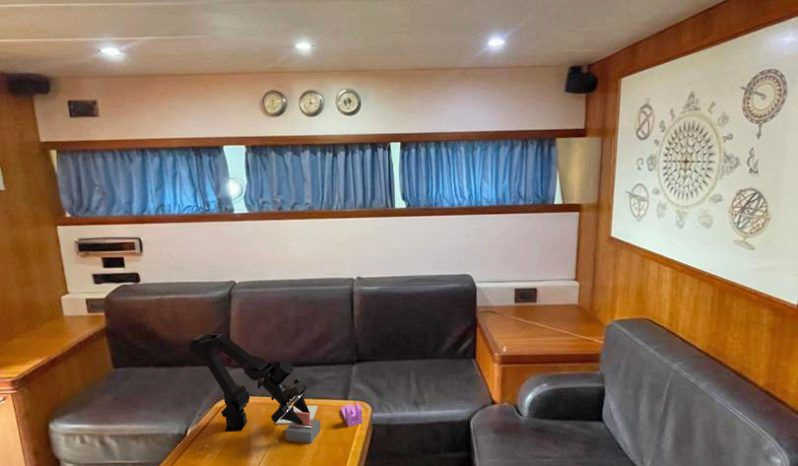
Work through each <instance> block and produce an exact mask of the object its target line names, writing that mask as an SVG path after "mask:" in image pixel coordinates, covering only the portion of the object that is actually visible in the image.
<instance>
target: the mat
mask: <svg viewBox="0 0 798 466" xmlns="http://www.w3.org/2000/svg"><path fill="white" fill-rule="evenodd" d="M292 406H293V405H290V406H289V407H290V408H291V407H292ZM318 406H319V405H307V407H308V410H309V412H310V419H312V420H314V417H315V414H316V412H317V410H318ZM293 408H294V412H295V411H296V412H302V411H300V410H299V409H297V408H296V407H294V406H293ZM281 418H282V417H281ZM281 418H280V419H281ZM280 419H279V420H278V421H277V422H276V423H275V422H274V424H275V425H290V424H291V423H292V422H291V421H287V420H283V419H282V420H280Z"/></svg>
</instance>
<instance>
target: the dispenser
mask: <svg viewBox="0 0 798 466" xmlns="http://www.w3.org/2000/svg"><path fill="white" fill-rule="evenodd" d="M310 421H311V426H303V425H295V423H294V422H292V423H291V424H288V426H287V428H286V429H285V439H286V440H287V441H291V442H292V441H293V442H300V443H305V444H306V443H307V444H312V443H313V442H314V440H315V438H317V436H318V434H319V433H320V432H321V421H320V419H313V420H312V419H310Z"/></svg>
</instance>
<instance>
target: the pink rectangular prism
mask: <svg viewBox="0 0 798 466" xmlns="http://www.w3.org/2000/svg"><path fill="white" fill-rule="evenodd" d="M295 413H296V414H297V415H298V417H299V418H300V419H301V420H302V422H303V424H302V425H303V426H311V421H310V413H305V412H296V411H295ZM295 425H300V424H297V423H295Z"/></svg>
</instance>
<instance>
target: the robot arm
mask: <svg viewBox="0 0 798 466" xmlns="http://www.w3.org/2000/svg"><path fill="white" fill-rule="evenodd" d="M189 349H190V351H191V352H192V354H193V355H194V356H195V357H196V358H197V359H199V360H202V361H203V362H204V363H205V365H206V366H207V368H208V369H209V371H210V373H211V374H212V376H213V377H214V380H216V382H217V384H218V385H219V387H220V388H221V390H222V392H223V398H224V399H223V400H224V403H225V407H224V408H223V409H222V410H221V412H220V413H221V416H222V417H223V418H225V422H226V423H225V424H226V427H225V429H224V431H225V432H241V431H243V429H244V428H245V426H246V425H247V423H248V419H247V414H246V412H245V408H246V407H247V405H248V403H249V402H250V399H251V398H250V395H249V394H250V393H249V392H248V390H247V388H246V387H245V385H240V386H239V385H238V384H236V382H235V381H234V379H233V377H232V376H231V374H230V373H229V372H228V370H227V368H226V366H225V365H224V363H223V362H222V360H221V359H220V357H219V355H218V354H217V350H220V351H221V352H222V353H224V354H225V355H226V356H228V357H229V358H230V359H232V360H233V361H234V362H235V363H237V364H238V365H239V366H240V367H241V368H242V370H243V373H244V374H245V375H246V376H247V377H248V378H249V379H250V380H251V381H255V382H256V381H257V389H258V390H259V389H261V388H264V389H265V391H266V392H267V393H268V394H269V395H270V396H271V398H270V400H272V401H274V400H275V401H276V402H277V403H278V404H279V405H278V408H277V409H276V410H275V411H274V412H273V414H272V415H271V419H270V420H271V421H272V422H273V423H274V424H275V423H276V422H277V421H278V420H279V419H280V418H281V417H282V418H281V419H280V420H282V419H283V420H287V421H291V422H294V423H297V424H300V425H302V424H303V422H302V420H301V419H300V418H299V417H298V415H297V414H296V413H295V412H294V408H293V406H294V407H296V408H297V409H299V410H300V411H302V412H305V413H310V412H309V410H308V407H307V406H308V405H307V404H306V399H305V395H306V392H305V391H307V389H308V387H307V386H306V385H305V382H304V381H303V380H302V378H300V377H296V378H294V379H293V383H292V384H289V383H286V382H285V380H287V378H289V376H290V375H291V374H293V372H294V369H295V368H294V365H293V364H292V363H291V362H290V361H288V360H286V359H285V360H283V359H282V358H279V359H278V360H277V361H276V362H275V363H273V362H268V361H266V360H265V359H264V358H261V357H259V356H255V355H252V354H250V353H249V352H247V351H246V350H244V349H243V348H242V347H240V346H239V345H238V344H237V343H235V342H234V341H233V340H231V339H230V338H229V337H228V335H226V334H224V333H222V334H221V333H220V334H217V333H214V334H213V333H212V334H209V333H203V334H201V335H199V336H198V337H195V338H194V339H192V340H191V341H190V343H189ZM284 382H285V383H284ZM289 406H292V407H291V408H290V407H289Z"/></svg>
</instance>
